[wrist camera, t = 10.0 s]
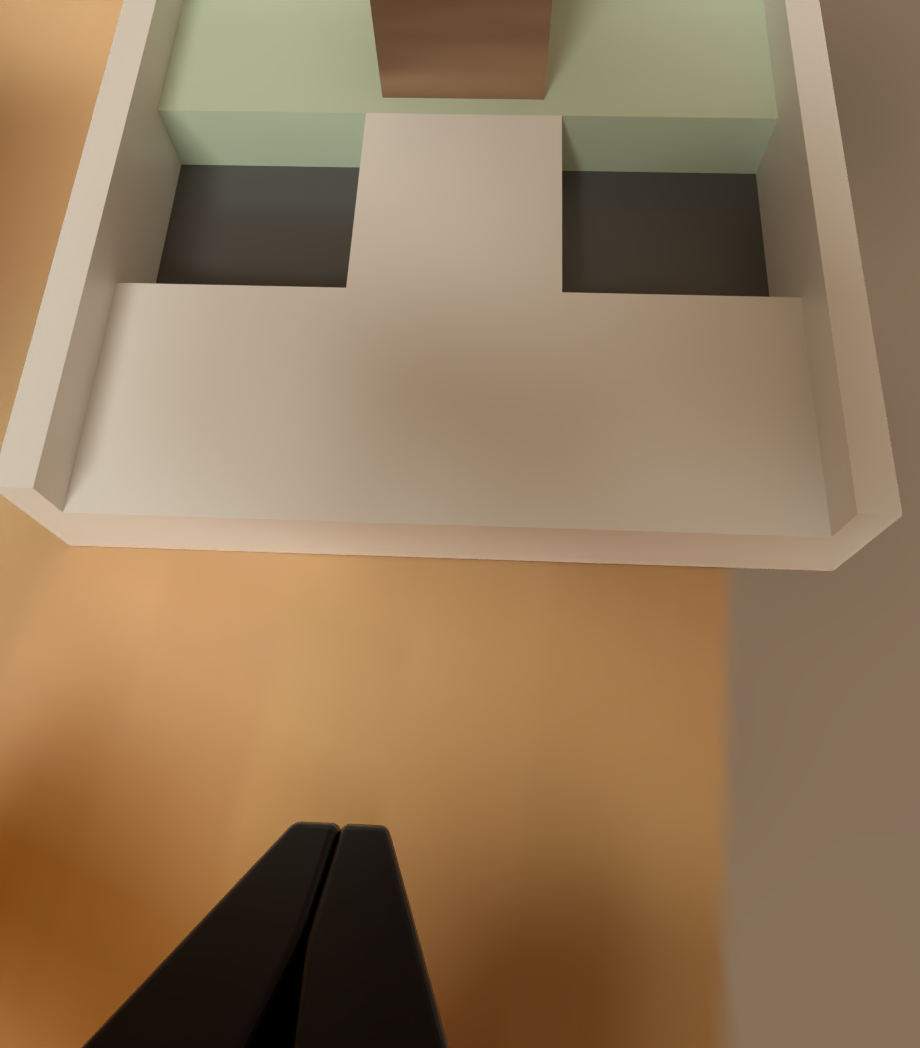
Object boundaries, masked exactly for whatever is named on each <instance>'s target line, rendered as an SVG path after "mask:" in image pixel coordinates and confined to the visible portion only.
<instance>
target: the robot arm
mask: <svg viewBox="0 0 920 1048" xmlns="http://www.w3.org/2000/svg"><path fill="white" fill-rule="evenodd" d="M82 1048H449V1047H448V1044H447V1040H446V1036H445V1033H444V1029H443V1025H442V1022H441V1018H440V1014H439V1011H438V1007H437V1003H436V1000H435V996H434V992H433V989H432V985H431V981H430V978H429V974H428V970H427V967H426V963H425V959H424V956H423V952H422V948H421V945H420V941H419V938H418V934H417V930H416V927H415V923H414V919H413V916H412V912H411V908H410V905H409V901H408V897H407V894H406V890H405V886H404V883H403V879H402V875H401V872H400V868H399V864H398V861H397V857H396V853H395V850H394V846H393V842H392V839H391V835H390V832H389V830H388V829H387V828H386V827H385V826H382V825H365V824H347V825H345V826H344V827H343V828H342V829H341V828H340V827H339V826H338V825H337V824H335V823H322V822H297V823H295V824H293V825H292V826H290V827H289V828H288V829H287V830H286V831H285V832H284V834H283V835H282V836H281V837H280V838H279V839H278V840H277V841H276V842H275V843H274V844H273V845H272V846H271V847H270V848H269V849H268V851H267V852H266V853H265V854H264V855H263V856H262V857H261V858H260V859H259V860H258V861H257V862H256V863H255V864H254V865H253V866H252V867H251V869H250V870H249V871H248V872H247V873H246V874H245V875H244V876H243V877H242V878H241V879H240V880H239V881H238V882H237V883H236V884H235V886H234V887H233V888H232V889H231V890H230V891H229V892H228V893H227V894H226V895H225V896H224V897H223V898H222V899H221V900H220V901H219V902H218V904H217V905H216V906H215V907H214V908H213V909H212V910H211V911H210V912H209V913H208V914H207V915H206V916H205V917H204V918H203V919H202V921H201V922H200V923H199V924H198V925H197V926H196V927H195V928H194V929H193V930H192V931H191V932H190V933H189V934H188V935H187V936H186V938H185V939H184V940H183V941H182V942H181V943H180V944H179V945H178V946H177V947H176V948H175V949H174V950H173V951H172V952H171V953H170V954H169V956H168V957H167V958H166V959H165V960H164V961H163V962H162V963H161V964H160V965H159V966H158V967H157V968H156V969H155V970H154V971H153V973H152V974H151V975H150V976H149V977H148V978H147V979H146V980H145V981H144V982H143V983H142V984H141V985H140V986H139V987H138V988H137V989H136V991H135V992H134V993H133V994H132V995H131V996H130V997H129V998H128V999H127V1000H126V1001H125V1002H124V1003H123V1004H122V1005H121V1006H120V1008H119V1009H118V1010H117V1011H116V1012H115V1013H114V1014H113V1015H112V1016H111V1017H110V1018H109V1019H108V1020H107V1021H106V1022H105V1023H104V1024H103V1026H102V1027H101V1028H100V1029H99V1030H98V1031H97V1032H96V1033H95V1034H94V1035H93V1036H92V1037H91V1038H90V1039H89V1040H88V1041H87V1043H86V1044H85V1045H84V1046H83V1047H82Z"/></svg>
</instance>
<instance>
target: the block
mask: <svg viewBox="0 0 920 1048" xmlns="http://www.w3.org/2000/svg"><path fill="white" fill-rule="evenodd" d="M552 1H553V0H370V6H371V14H372V21H373V29H374V37H375V44H376V52H377V60H378V67H379V75H380V83H381V90H382V98H453V99H533V100H544V96H545V84H546V72H547V60H548V49H549V37H550V25H551V13H552Z"/></svg>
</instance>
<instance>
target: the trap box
mask: <svg viewBox="0 0 920 1048" xmlns="http://www.w3.org/2000/svg"><path fill="white" fill-rule="evenodd" d="M0 494H1V495H3V496H4V497H5V498H7V499H8V500H9V501H11V502H12V503H13V504H15V505H16V506H17V507H19V508H20V509H21V510H23V511H24V512H25V513H27V514H28V515H29V516H31V517H32V518H33V519H35V520H36V521H37V522H39V523H40V524H41V525H43V526H44V527H45V528H47V529H48V530H49V531H51V532H52V533H53V534H55V535H56V536H57V537H59V538H60V539H62V540H63V541H64V542H66V543H67V544H68V545H72V546H102V547H132V548H162V549H191V550H221V551H251V552H280V553H310V554H340V555H369V556H399V557H429V558H458V559H488V560H518V561H547V562H577V563H607V564H636V565H666V566H696V567H725V568H756V569H757V568H758V569H786V570H815V571H834V570H835V569H836V568H837V567H839V566H840V565H841V564H842V563H844V562H845V561H846V560H847V559H849V558H850V557H851V556H852V555H854V554H855V553H856V552H857V551H859V550H860V549H861V548H862V547H864V546H865V545H866V544H867V543H869V542H870V541H871V540H872V539H874V538H875V537H876V536H877V535H879V534H880V533H881V532H882V531H884V530H885V529H886V528H887V527H889V526H890V525H891V524H892V523H894V522H895V521H896V520H897V519H899V518H900V517H901V516H902V515H903V514H902V508H901V502H900V496H899V490H898V483H897V477H896V471H895V465H894V459H893V452H892V446H891V440H890V435H889V428H888V422H887V416H886V409H885V404H884V397H883V391H882V385H881V379H880V374H879V366H878V360H877V354H876V348H875V342H874V336H873V329H872V323H871V317H870V311H869V305H868V299H867V293H866V287H865V281H864V274H863V268H862V262H861V256H860V250H859V243H858V237H857V231H856V225H855V219H854V213H853V207H852V200H851V194H850V188H849V182H848V176H847V169H846V164H845V157H844V151H843V145H842V139H841V133H840V126H839V121H838V114H837V108H836V102H835V96H834V90H833V84H832V77H831V71H830V65H829V59H828V53H827V46H826V40H825V34H824V28H823V22H822V16H821V10H820V3H819V0H553V1H552V13H551V25H550V37H549V49H548V60H547V72H546V84H545V96H544V100H533V99H453V98H382V90H381V83H380V75H379V67H378V60H377V52H376V44H375V37H374V29H373V21H372V14H371V6H370V0H124V2H123V6H122V9H121V13H120V17H119V20H118V24H117V28H116V31H115V35H114V39H113V42H112V46H111V50H110V53H109V57H108V61H107V64H106V68H105V72H104V75H103V79H102V83H101V86H100V90H99V94H98V97H97V101H96V105H95V108H94V112H93V116H92V119H91V123H90V127H89V130H88V134H87V138H86V141H85V145H84V149H83V152H82V156H81V160H80V163H79V167H78V171H77V174H76V178H75V182H74V185H73V189H72V193H71V196H70V200H69V204H68V207H67V211H66V215H65V218H64V222H63V226H62V229H61V233H60V237H59V240H58V244H57V248H56V251H55V255H54V259H53V262H52V266H51V270H50V273H49V277H48V281H47V284H46V288H45V292H44V295H43V299H42V303H41V306H40V310H39V314H38V317H37V321H36V325H35V328H34V332H33V336H32V339H31V343H30V347H29V350H28V354H27V358H26V361H25V365H24V369H23V372H22V376H21V380H20V383H19V387H18V391H17V394H16V398H15V401H14V405H13V409H12V412H11V416H10V420H9V423H8V427H7V431H6V434H5V438H4V442H3V445H2V449H1V453H0Z"/></svg>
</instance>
